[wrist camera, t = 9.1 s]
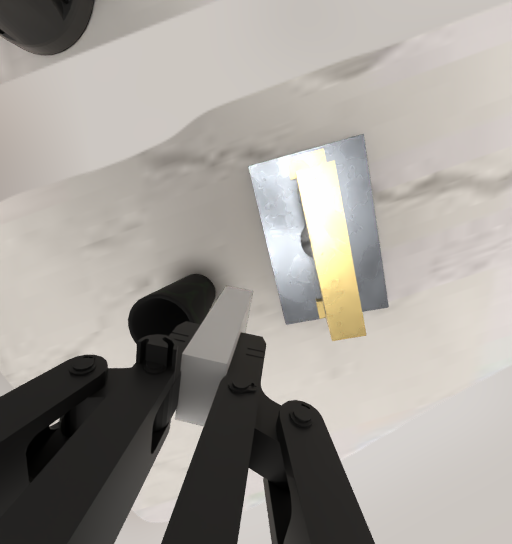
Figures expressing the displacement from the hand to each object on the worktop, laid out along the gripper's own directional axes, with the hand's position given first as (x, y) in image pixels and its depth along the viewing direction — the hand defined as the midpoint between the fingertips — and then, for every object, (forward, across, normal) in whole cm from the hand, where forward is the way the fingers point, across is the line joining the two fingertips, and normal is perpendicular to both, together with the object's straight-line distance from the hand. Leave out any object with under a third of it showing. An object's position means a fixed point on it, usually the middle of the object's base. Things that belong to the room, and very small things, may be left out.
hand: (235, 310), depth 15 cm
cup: (+24, -9, -10) cm, 28 cm away
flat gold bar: (+17, +7, +1) cm, 19 cm away
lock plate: (+24, +7, +1) cm, 25 cm away
